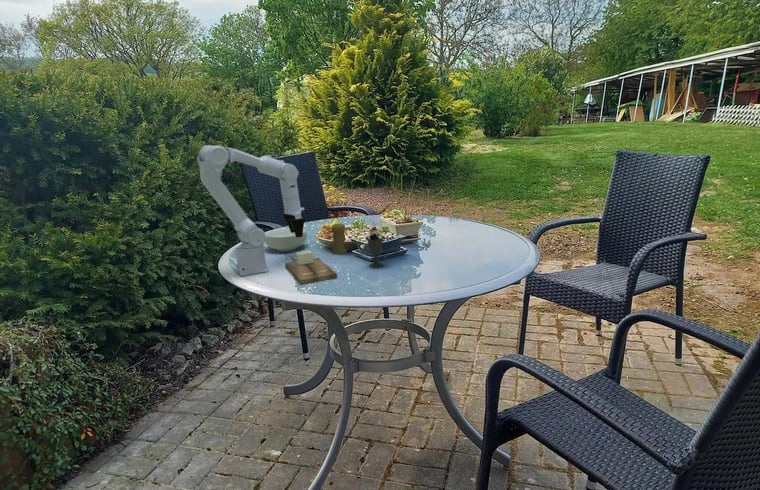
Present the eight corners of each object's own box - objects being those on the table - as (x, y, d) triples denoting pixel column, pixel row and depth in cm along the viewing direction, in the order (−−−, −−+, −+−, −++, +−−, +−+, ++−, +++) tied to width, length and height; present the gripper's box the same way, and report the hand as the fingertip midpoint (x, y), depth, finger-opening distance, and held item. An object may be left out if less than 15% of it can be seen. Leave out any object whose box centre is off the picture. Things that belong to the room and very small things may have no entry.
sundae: (376, 261, 159) (374, 220, 154) (389, 265, 154) (388, 222, 150) (362, 266, 154) (360, 223, 150) (376, 270, 149) (374, 226, 145)
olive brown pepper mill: (345, 254, 169) (343, 225, 166) (330, 253, 170) (328, 225, 167) (349, 249, 174) (347, 222, 172) (334, 249, 176) (332, 222, 173)
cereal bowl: (311, 242, 187) (309, 226, 185) (303, 254, 171) (301, 236, 169) (271, 243, 188) (269, 227, 186) (259, 255, 172) (257, 237, 170)
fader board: (300, 284, 139) (300, 279, 138) (285, 267, 156) (285, 262, 156) (337, 278, 143) (336, 273, 143) (318, 261, 161) (318, 257, 160)
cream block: (299, 265, 152) (298, 254, 151) (296, 262, 155) (295, 252, 154) (313, 262, 154) (312, 252, 153) (310, 260, 157) (309, 249, 156)
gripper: (307, 198, 152) (313, 236, 156) (296, 192, 165) (302, 228, 169) (287, 202, 150) (293, 241, 154) (277, 196, 162) (283, 231, 166)
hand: (296, 234), depth 161 cm, fingers open, 7 cm apart
